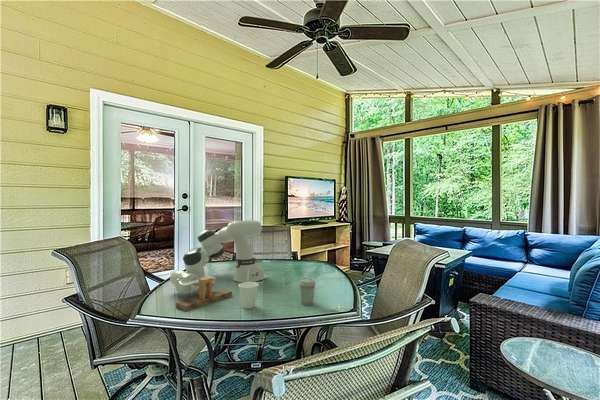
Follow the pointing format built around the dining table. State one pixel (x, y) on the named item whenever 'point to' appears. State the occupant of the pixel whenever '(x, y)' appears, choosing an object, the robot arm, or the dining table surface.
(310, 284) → the coffee cup
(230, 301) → the dining table surface
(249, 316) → the dining table surface
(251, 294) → the cup
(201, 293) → the clip
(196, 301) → the rail
